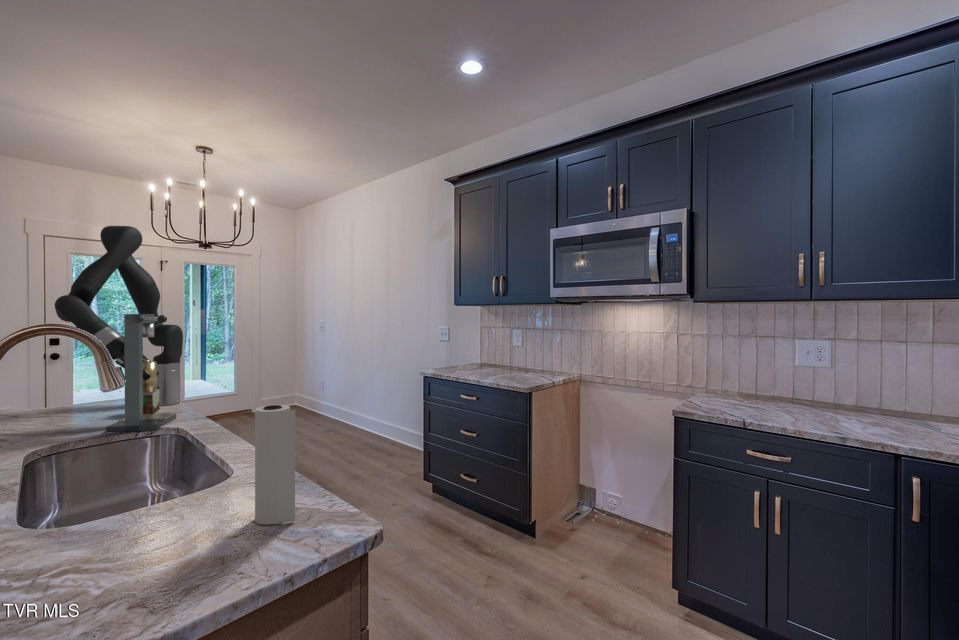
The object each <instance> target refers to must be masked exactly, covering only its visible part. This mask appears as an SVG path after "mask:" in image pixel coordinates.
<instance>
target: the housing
mask: <svg viewBox="0 0 959 640" xmlns="http://www.w3.org/2000/svg"><path fill="white" fill-rule="evenodd" d="M143 369H144V370H145V371H146V372H148V373H149V374H150V375H151V377H150V378H149V379H148V380H144V379H143V392H152V391H156V390H157V362H156V361H153V360H150V361H149V359H148V360H144V362H143Z"/></svg>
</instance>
